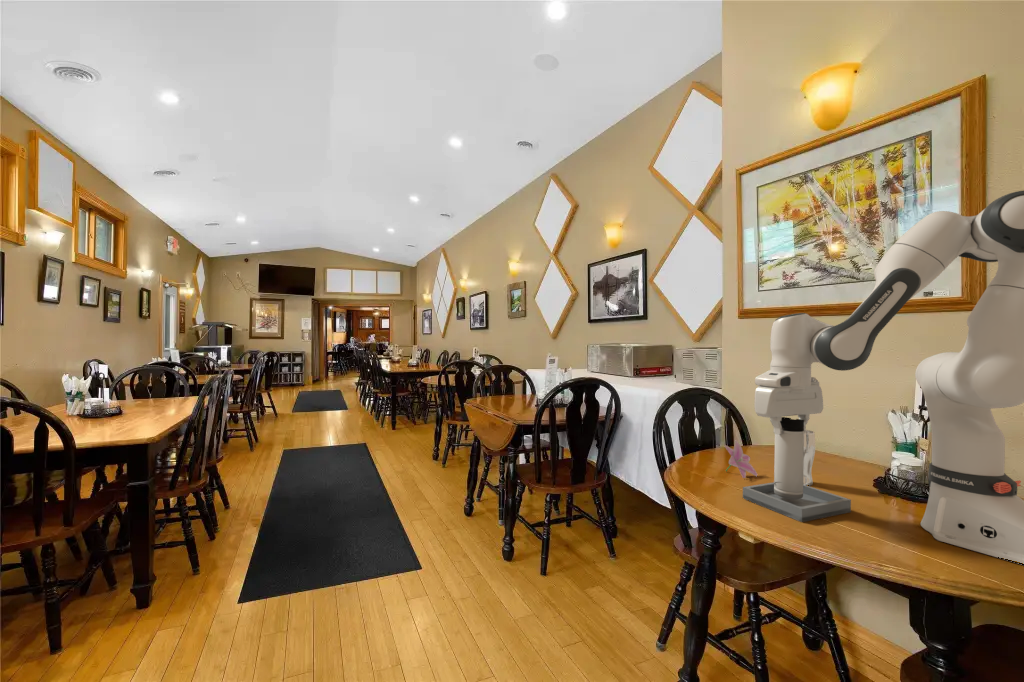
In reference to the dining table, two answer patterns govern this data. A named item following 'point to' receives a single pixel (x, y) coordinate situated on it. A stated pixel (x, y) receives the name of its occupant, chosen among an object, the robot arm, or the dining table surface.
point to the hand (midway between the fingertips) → (789, 432)
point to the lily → (740, 460)
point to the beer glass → (808, 456)
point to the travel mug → (789, 459)
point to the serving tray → (798, 502)
